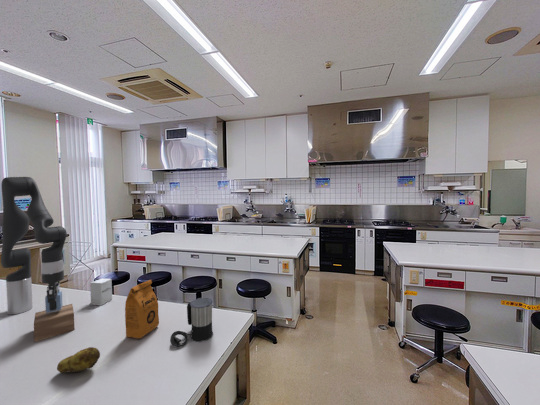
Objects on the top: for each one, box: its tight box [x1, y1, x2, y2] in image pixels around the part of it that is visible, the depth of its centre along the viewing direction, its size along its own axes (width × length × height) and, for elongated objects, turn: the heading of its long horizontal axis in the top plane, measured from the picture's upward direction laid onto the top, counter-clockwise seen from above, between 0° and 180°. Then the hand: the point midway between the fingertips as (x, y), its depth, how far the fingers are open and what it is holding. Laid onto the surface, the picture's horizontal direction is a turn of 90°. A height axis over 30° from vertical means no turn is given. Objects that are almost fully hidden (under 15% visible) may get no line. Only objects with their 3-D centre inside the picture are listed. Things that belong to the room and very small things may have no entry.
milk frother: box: [169, 297, 214, 348], centre depth 100 cm, size 14×16×15 cm
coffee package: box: [124, 279, 160, 339], centre depth 105 cm, size 10×12×22 cm
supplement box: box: [89, 278, 113, 306], centre depth 136 cm, size 7×7×13 cm
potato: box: [56, 346, 101, 374], centre depth 82 cm, size 8×13×8 cm, turn 71°
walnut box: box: [33, 303, 75, 343], centre depth 108 cm, size 13×13×8 cm
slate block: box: [44, 290, 64, 313], centre depth 108 cm, size 5×5×7 cm
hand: (54, 307), depth 108 cm, fingers closed on slate block, 5 cm apart
